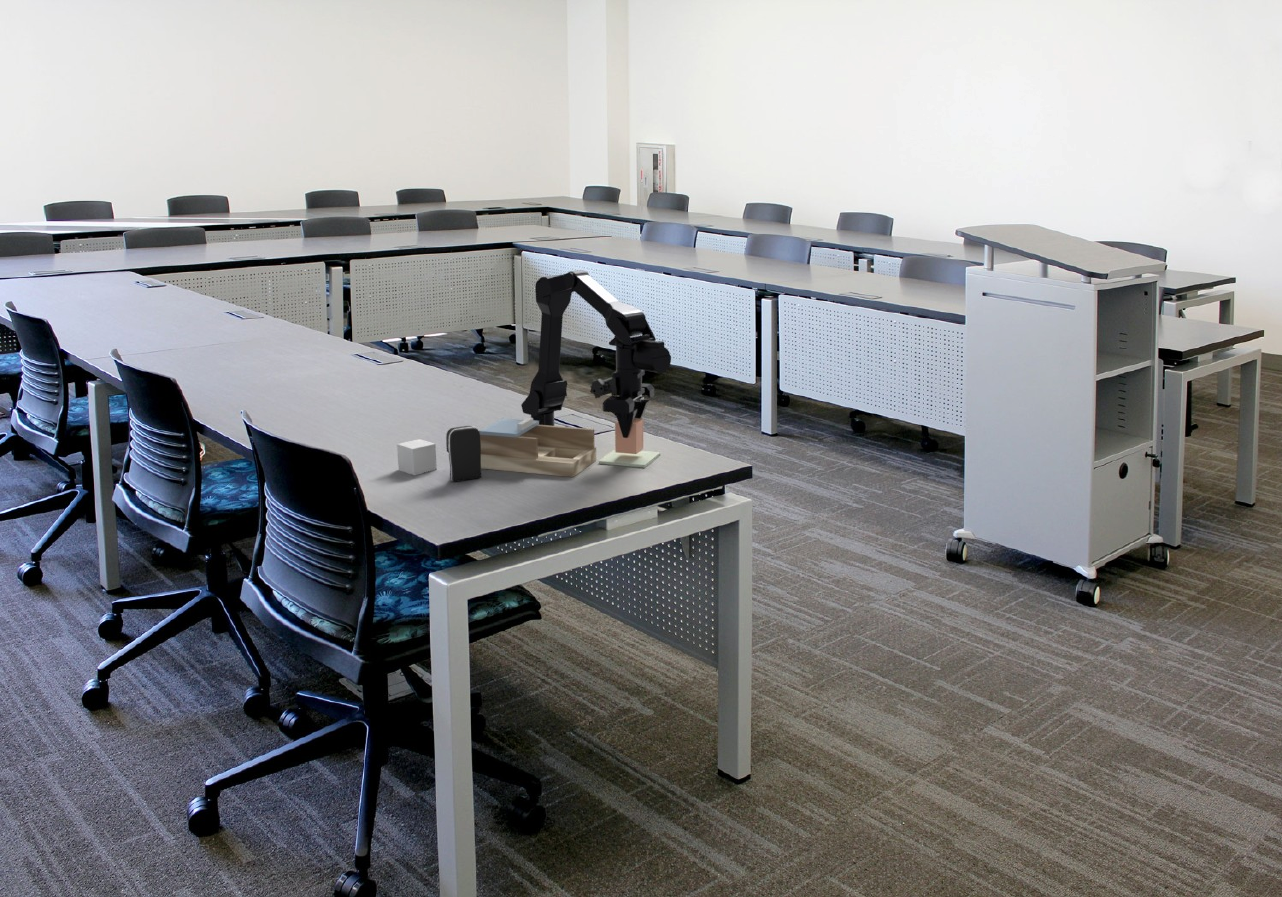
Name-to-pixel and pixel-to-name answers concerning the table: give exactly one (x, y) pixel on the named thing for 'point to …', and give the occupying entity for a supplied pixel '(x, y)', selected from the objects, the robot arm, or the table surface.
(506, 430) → the cover
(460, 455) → the battery charger
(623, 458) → the sage mat
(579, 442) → the open storage box
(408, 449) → the white cube
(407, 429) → the table surface
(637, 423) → the block
